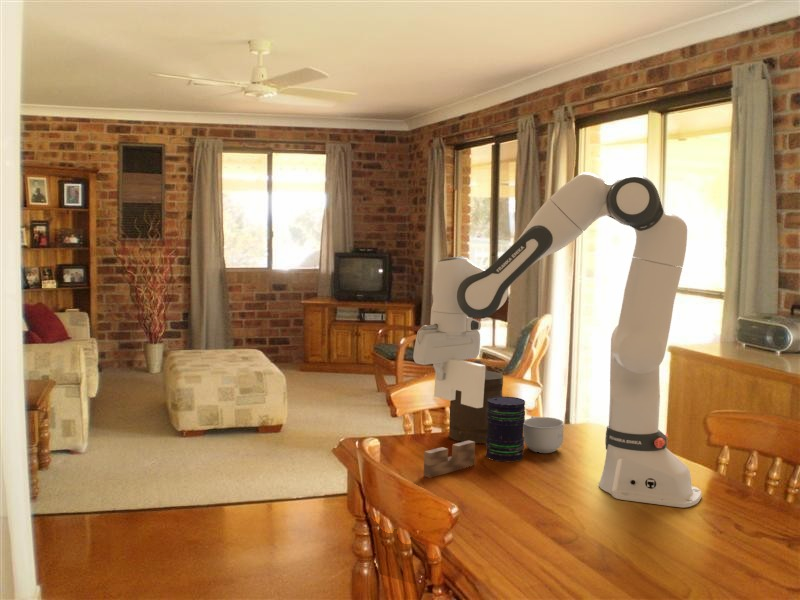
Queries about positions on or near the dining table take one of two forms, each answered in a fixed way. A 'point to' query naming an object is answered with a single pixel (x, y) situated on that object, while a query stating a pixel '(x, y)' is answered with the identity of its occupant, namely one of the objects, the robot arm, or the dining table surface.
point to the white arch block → (462, 382)
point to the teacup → (543, 434)
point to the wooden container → (474, 412)
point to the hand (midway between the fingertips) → (445, 379)
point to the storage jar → (505, 428)
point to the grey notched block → (449, 459)
